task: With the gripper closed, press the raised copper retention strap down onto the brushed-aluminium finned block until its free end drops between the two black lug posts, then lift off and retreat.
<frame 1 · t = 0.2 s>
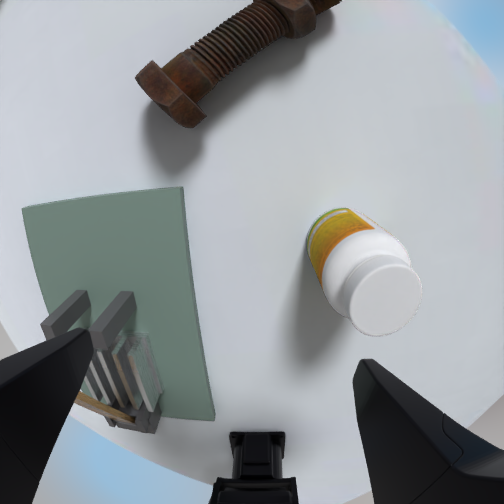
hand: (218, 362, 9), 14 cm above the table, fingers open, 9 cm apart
heatsink: (124, 359, 26), resting on board
supplement bottle: (339, 239, 22), on the table
lug fork: (105, 298, 23), resting on board
strap: (94, 406, 19), point 8 cm above the table, hinge at 30.0°
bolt: (251, 44, 18), on the table
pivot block: (137, 394, 27), resting on board
board: (118, 324, 25), on the table
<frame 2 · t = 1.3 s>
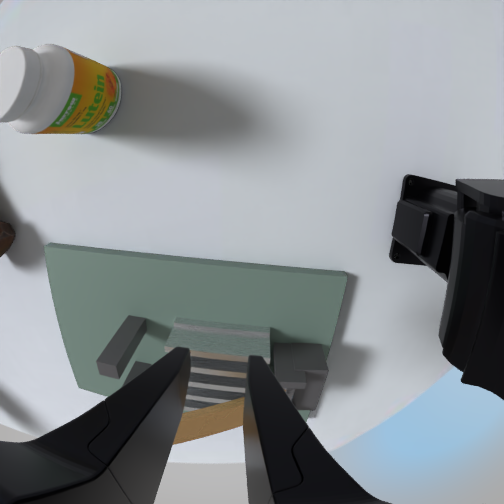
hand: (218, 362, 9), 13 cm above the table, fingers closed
heatsink: (220, 358, 23), resting on board
supplement bottle: (93, 99, 17), on the table
lug fork: (140, 346, 23), resting on board
strap: (202, 423, 16), point 8 cm above the table, hinge at 30.0°
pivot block: (283, 363, 23), resting on board
board: (181, 345, 24), on the table
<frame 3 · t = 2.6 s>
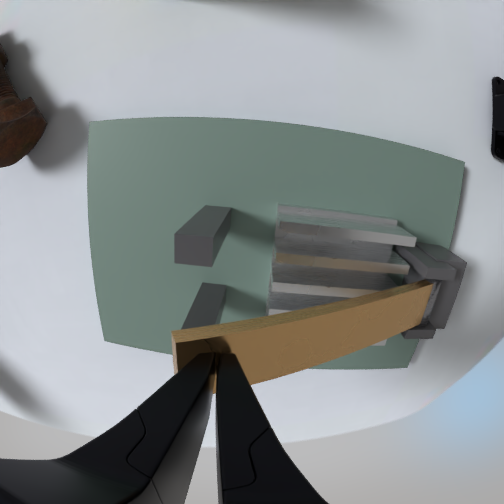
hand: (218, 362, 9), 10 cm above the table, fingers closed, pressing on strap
heatsink: (328, 267, 18), resting on board
lug fork: (215, 256, 18), resting on board
strap: (346, 328, 11), point 8 cm above the table, hinge at 27.8°, touching gripper
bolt: (10, 84, 15), on the table
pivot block: (400, 273, 17), resting on board
board: (270, 255, 19), on the table
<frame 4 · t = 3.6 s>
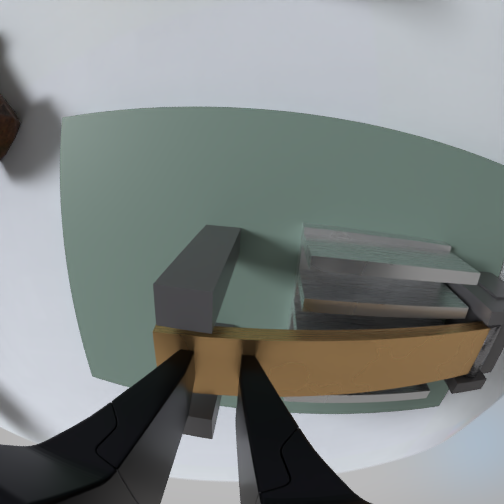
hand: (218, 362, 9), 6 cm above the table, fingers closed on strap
heatsink: (364, 303, 13), resting on board
lug fork: (220, 289, 14), resting on board
strap: (363, 362, 9), point 5 cm above the table, hinge at 6.3°, touching gripper
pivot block: (446, 307, 13), resting on board
board: (291, 288, 14), on the table
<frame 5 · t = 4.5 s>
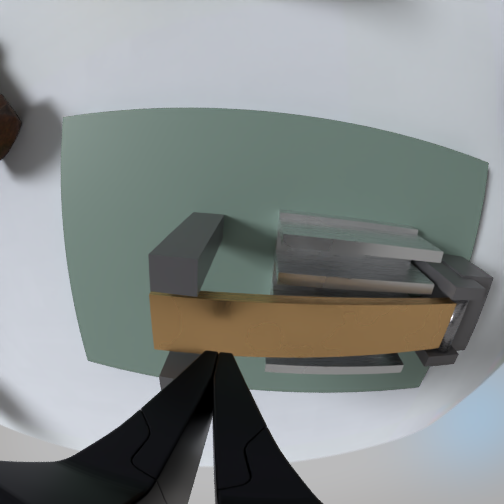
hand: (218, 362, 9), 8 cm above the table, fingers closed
heatsink: (338, 283, 15), resting on board
lug fork: (206, 271, 15), resting on board
strap: (332, 328, 11), point 5 cm above the table, hinge at 4.7°
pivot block: (418, 288, 15), resting on board
board: (271, 270, 16), on the table
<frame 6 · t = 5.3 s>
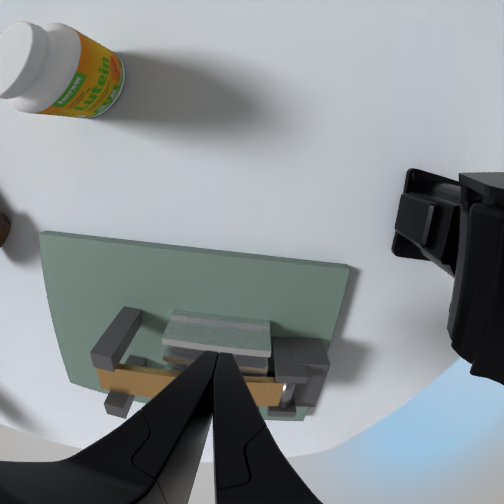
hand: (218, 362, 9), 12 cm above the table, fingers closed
heatsink: (218, 352, 22), resting on board
supplement bottle: (96, 84, 17), on the table
lug fork: (135, 339, 22), resting on board
strap: (193, 388, 18), point 5 cm above the table, hinge at 4.7°
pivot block: (282, 358, 22), resting on board
board: (177, 339, 23), on the table
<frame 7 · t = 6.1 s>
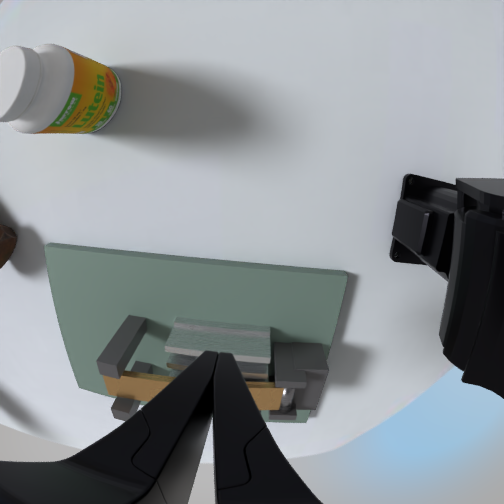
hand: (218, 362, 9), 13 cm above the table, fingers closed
heatsink: (221, 358, 23), resting on board
supplement bottle: (93, 99, 17), on the table
lug fork: (141, 346, 23), resting on board
strap: (196, 393, 19), point 5 cm above the table, hinge at 4.7°
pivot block: (283, 363, 23), resting on board
board: (181, 345, 24), on the table
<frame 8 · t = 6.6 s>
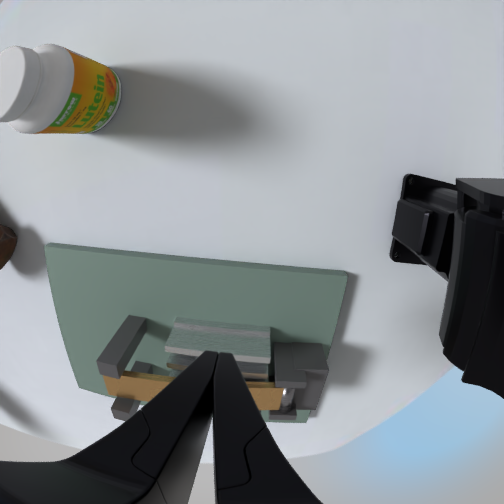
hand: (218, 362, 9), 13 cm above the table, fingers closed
heatsink: (221, 358, 23), resting on board
supplement bottle: (93, 99, 17), on the table
lug fork: (141, 346, 23), resting on board
strap: (196, 393, 19), point 5 cm above the table, hinge at 4.7°
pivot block: (283, 363, 23), resting on board
board: (181, 345, 24), on the table
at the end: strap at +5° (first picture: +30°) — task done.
